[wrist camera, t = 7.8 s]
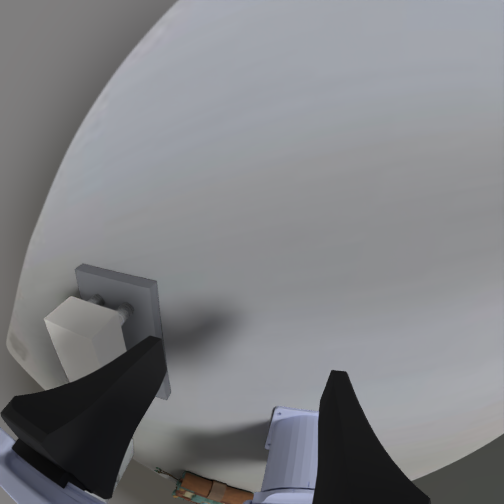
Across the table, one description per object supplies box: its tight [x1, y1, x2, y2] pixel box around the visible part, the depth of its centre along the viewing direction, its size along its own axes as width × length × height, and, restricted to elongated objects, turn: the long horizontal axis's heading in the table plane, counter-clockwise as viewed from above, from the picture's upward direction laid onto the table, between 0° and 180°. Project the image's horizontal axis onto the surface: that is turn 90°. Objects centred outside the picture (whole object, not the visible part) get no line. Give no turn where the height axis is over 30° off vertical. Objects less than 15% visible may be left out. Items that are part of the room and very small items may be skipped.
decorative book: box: [155, 467, 254, 504], centre depth 38 cm, size 13×18×5 cm
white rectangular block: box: [44, 296, 127, 383], centre depth 21 cm, size 12×5×4 cm, turn 175°
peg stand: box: [75, 264, 171, 400], centre depth 24 cm, size 14×8×4 cm, turn 175°
